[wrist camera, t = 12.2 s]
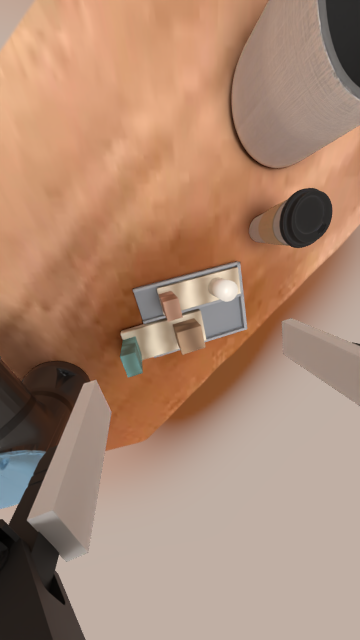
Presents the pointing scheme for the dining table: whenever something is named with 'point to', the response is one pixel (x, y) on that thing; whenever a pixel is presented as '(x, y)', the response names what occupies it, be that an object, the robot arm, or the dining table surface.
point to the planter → (298, 79)
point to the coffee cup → (294, 220)
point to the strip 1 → (192, 292)
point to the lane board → (215, 314)
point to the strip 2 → (151, 341)
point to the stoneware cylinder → (223, 289)
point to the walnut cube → (189, 336)
